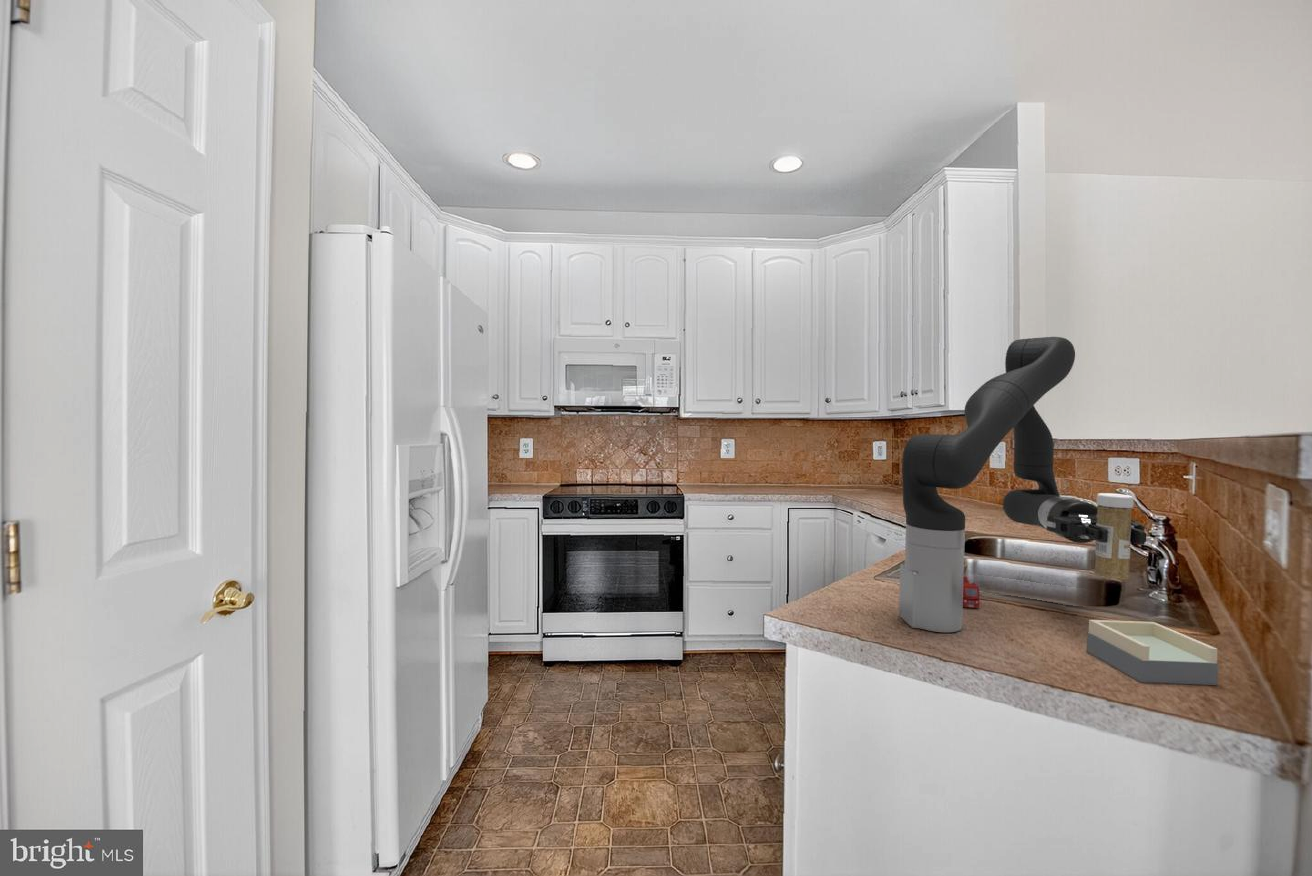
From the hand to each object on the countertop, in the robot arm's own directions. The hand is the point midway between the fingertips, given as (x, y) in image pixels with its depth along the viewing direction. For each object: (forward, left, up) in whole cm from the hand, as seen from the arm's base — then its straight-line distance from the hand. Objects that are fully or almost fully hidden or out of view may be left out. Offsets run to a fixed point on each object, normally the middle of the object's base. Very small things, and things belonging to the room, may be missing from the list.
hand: (1123, 537), depth 85 cm
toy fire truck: (-13, +23, -18) cm, 32 cm away
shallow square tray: (-1, -7, -18) cm, 19 cm away
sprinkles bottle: (0, +3, -7) cm, 8 cm away
